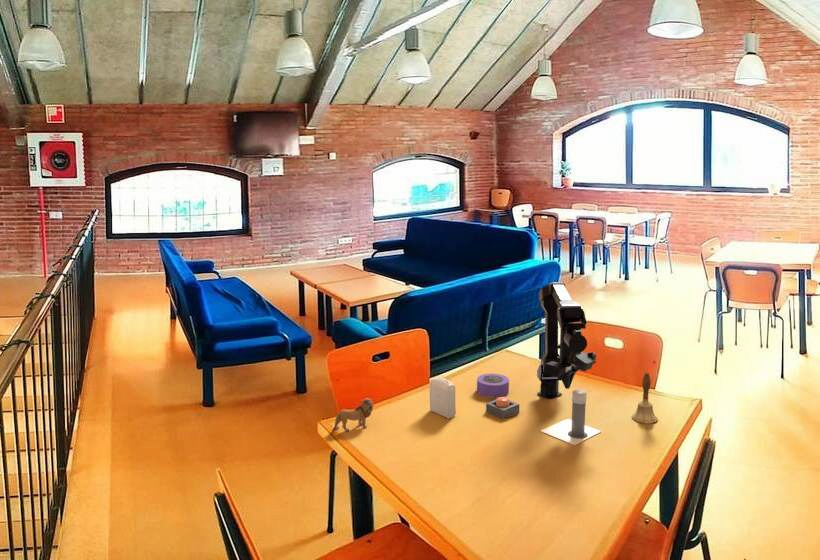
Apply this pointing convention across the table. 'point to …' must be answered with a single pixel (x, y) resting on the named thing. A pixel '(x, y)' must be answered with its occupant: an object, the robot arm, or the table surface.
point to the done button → (502, 402)
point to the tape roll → (493, 385)
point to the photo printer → (442, 397)
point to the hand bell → (645, 404)
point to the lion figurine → (355, 414)
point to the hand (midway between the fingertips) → (567, 388)
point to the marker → (578, 413)
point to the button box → (502, 409)
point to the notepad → (569, 432)
